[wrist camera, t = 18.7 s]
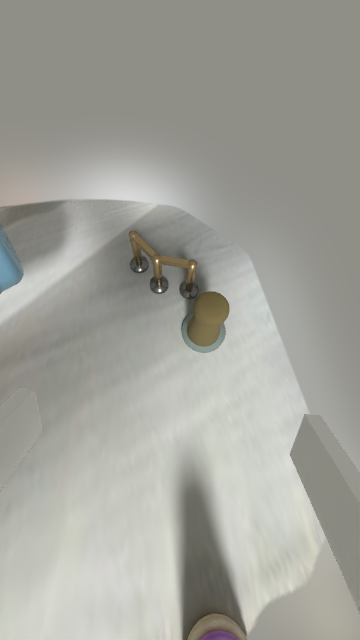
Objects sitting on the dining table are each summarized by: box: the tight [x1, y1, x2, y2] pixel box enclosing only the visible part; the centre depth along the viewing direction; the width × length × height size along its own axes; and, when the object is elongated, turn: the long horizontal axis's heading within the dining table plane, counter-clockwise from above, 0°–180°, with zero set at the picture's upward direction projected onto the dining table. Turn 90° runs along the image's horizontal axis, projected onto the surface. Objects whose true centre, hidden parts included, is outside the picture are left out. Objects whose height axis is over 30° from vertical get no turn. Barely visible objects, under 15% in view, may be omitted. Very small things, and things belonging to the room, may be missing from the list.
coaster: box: [182, 312, 226, 352], centre depth 43 cm, size 8×8×1 cm
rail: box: [129, 231, 198, 299], centre depth 43 cm, size 15×8×9 cm, turn 80°
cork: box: [187, 292, 229, 347], centre depth 37 cm, size 6×6×11 cm
